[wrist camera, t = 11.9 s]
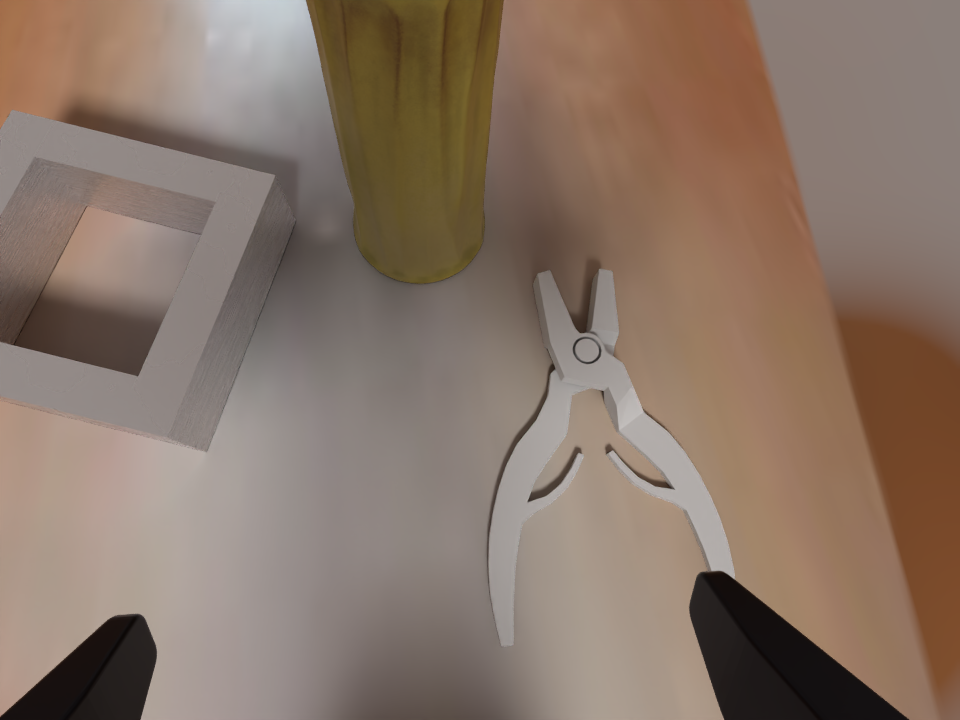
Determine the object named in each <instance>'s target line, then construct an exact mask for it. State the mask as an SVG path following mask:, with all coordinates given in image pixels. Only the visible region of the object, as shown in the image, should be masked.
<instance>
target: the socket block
mask: <svg viewBox="0 0 960 720" xmlns="http://www.w3.org/2000/svg"><path fill="white" fill-rule="evenodd" d="M86 206H89V207H93V208H97V209H101V210H105V211H109V212H113V213H117V214H121V215H125V216H129V217H133V218H137V219H141V220H145V221H149V222H153V223H157V224H161V225H165V226H169V227H173V228H177V229H181V230H186V231H190V232H194V233H198V234H201V236H200V239H199V241H198V243H197V245H196V248H195V250H194V252H193V254H192V257H191V259H190V261H189V263H188V266H187V268H186V270H185V272H184V275H183V277H182V279H181V281H180V284H179V286H178V288H177V290H176V293H175V295H174V297H173V299H172V302H171V304H170V306H169V308H168V311H167V313H166V315H165V317H164V320H163V322H162V324H161V326H160V329H159V331H158V333H157V335H156V338H155V340H154V342H153V344H152V347H151V349H150V351H149V353H148V356H147V358H146V360H145V362H144V365H143V367H142V369H141V371H140V374H139V376H135V375H131V374H127V373H123V372H119V371H115V370H111V369H107V368H103V367H99V366H95V365H91V364H86V363H82V362H78V361H74V360H70V359H66V358H62V357H58V356H54V355H50V354H46V353H42V352H38V351H34V350H30V349H26V348H22V347H18V346H14V343H15V341H16V339H17V337H18V335H19V333H20V331H21V330H22V328H23V326H24V324H25V322H26V320H27V318H28V316H29V314H30V312H31V311H32V309H33V307H34V305H35V303H36V301H37V299H38V297H39V295H40V293H41V292H42V290H43V288H44V286H45V284H46V282H47V280H48V278H49V276H50V274H51V273H52V271H53V269H54V267H55V265H56V263H57V261H58V259H59V257H60V256H61V254H62V252H63V250H64V248H65V246H66V244H67V242H68V240H69V238H70V237H71V235H72V233H73V231H74V229H75V227H76V225H77V223H78V221H79V219H80V218H81V216H82V214H83V212H84V210H85V208H86ZM295 223H296V220H295V217H294V215H293V213H292V211H291V209H290V206H289V204H288V202H287V200H286V197H285V195H284V193H283V191H282V188H281V186H280V184H279V182H278V179H277V177H276V175H273V174H269V173H265V172H261V171H257V170H253V169H249V168H245V167H241V166H237V165H233V164H229V163H225V162H221V161H217V160H213V159H208V158H204V157H200V156H196V155H192V154H188V153H184V152H180V151H176V150H172V149H168V148H164V147H160V146H156V145H152V144H148V143H144V142H140V141H136V140H132V139H128V138H124V137H120V136H116V135H112V134H108V133H104V132H100V131H96V130H92V129H87V128H83V127H79V126H75V125H71V124H67V123H63V122H59V121H55V120H51V119H47V118H43V117H39V116H35V115H31V114H27V113H23V112H19V111H15V110H12V111H11V113H10V114H9V116H8V118H7V119H6V121H5V123H4V124H3V126H2V127H1V129H0V401H4V402H8V403H12V404H16V405H20V406H24V407H28V408H32V409H36V410H40V411H44V412H48V413H52V414H56V415H60V416H64V417H68V418H72V419H76V420H80V421H84V422H88V423H92V424H96V425H100V426H104V427H108V428H112V429H116V430H120V431H124V432H128V433H132V434H136V435H140V436H144V437H148V438H152V439H156V440H160V441H164V442H168V443H172V444H176V445H180V446H184V447H188V448H192V449H196V450H200V451H205V452H207V449H208V447H209V444H210V442H211V439H212V436H213V434H214V431H215V429H216V426H217V424H218V421H219V418H220V416H221V413H222V411H223V408H224V406H225V403H226V400H227V398H228V395H229V393H230V390H231V388H232V385H233V382H234V380H235V377H236V375H237V372H238V369H239V367H240V364H241V362H242V359H243V357H244V354H245V351H246V349H247V346H248V344H249V341H250V339H251V336H252V333H253V331H254V328H255V326H256V323H257V321H258V318H259V315H260V313H261V310H262V308H263V305H264V302H265V300H266V297H267V295H268V292H269V290H270V287H271V284H272V282H273V279H274V277H275V274H276V272H277V269H278V266H279V264H280V261H281V259H282V256H283V254H284V251H285V248H286V246H287V243H288V241H289V238H290V235H291V233H292V230H293V228H294V225H295Z"/></svg>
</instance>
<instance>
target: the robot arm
mask: <svg viewBox="0 0 960 720" xmlns="http://www.w3.org/2000/svg"><path fill="white" fill-rule="evenodd" d="M689 611H690V618H691V621H692V624H693V627H694V630H695V633H696V637H697V640H698V643H699V646H700V649H701V652H702V655H703V658H704V661H705V664H706V668H707V671H708V674H709V677H710V680H711V683H712V686H713V689H714V692H715V695H716V698H717V701H718V704H719V707H720V710H721V713H722V715H723V718H724V720H909V719H908V718H907V717H905V716H904V715H903V714H902V713H900V712H899V711H898V710H897V709H895V708H894V707H893V706H892V705H890V704H889V703H888V702H887V701H885V700H884V699H883V698H882V697H880V696H879V695H878V694H877V693H875V692H874V691H873V690H872V689H870V688H869V687H868V686H867V685H865V684H864V683H863V682H862V681H860V680H859V679H858V678H857V677H855V676H854V675H853V674H852V673H850V672H849V671H848V670H847V669H846V668H844V667H843V666H842V665H841V664H839V663H838V662H837V661H836V660H834V659H833V658H832V657H831V656H829V655H828V654H827V653H826V652H824V651H823V650H822V649H821V648H819V647H818V646H817V645H816V644H814V643H813V642H812V641H811V640H809V639H808V638H807V637H806V636H804V635H803V634H802V633H801V632H799V631H798V630H797V629H796V628H794V627H793V626H792V625H791V624H789V623H788V622H787V621H786V620H784V619H783V618H782V617H781V616H780V615H778V614H777V613H776V612H775V611H773V610H772V609H771V608H770V607H768V606H767V605H766V604H765V603H763V602H762V601H761V600H760V599H758V598H757V597H756V596H755V595H753V594H752V593H751V592H750V591H748V590H747V589H746V588H745V587H743V586H742V585H741V584H740V583H738V582H737V581H736V580H735V579H733V578H732V577H731V576H730V575H728V574H727V573H725V572H723V571H706V572H700V573H699V574H698V575H697V578H696V581H695V585H694V589H693V593H692V596H691V600H690V605H689ZM156 658H157V649H156V645H155V642H154V640H153V637H152V635H151V632H150V630H149V627H148V625H147V622H146V620H145V618H144V617H143V616H142V615H141V614H127V615H117V616H114V617H112V618H110V619H108V620H107V621H106V622H105V623H104V624H103V625H101V626H100V627H99V628H98V629H97V630H96V631H95V632H94V633H93V634H92V635H90V636H89V637H88V638H87V639H86V640H85V641H84V642H83V643H82V644H80V645H79V646H78V647H77V648H76V649H75V650H74V651H73V652H72V653H70V654H69V655H68V656H67V657H66V658H65V659H64V660H63V661H62V662H60V663H59V664H58V665H57V666H56V667H55V668H54V669H53V670H52V671H50V672H49V673H48V674H47V675H46V676H45V677H44V678H43V679H42V680H41V681H39V682H38V683H37V684H36V685H35V686H34V687H33V688H32V689H31V690H29V691H28V692H27V693H26V694H25V695H24V696H23V697H22V698H21V699H19V700H18V701H17V702H16V703H15V704H14V705H13V706H12V707H11V708H9V709H8V710H7V711H6V712H5V713H4V714H3V715H2V716H1V717H0V720H140V719H141V716H142V712H143V708H144V705H145V701H146V697H147V694H148V690H149V686H150V682H151V679H152V675H153V671H154V668H155V664H156Z"/></svg>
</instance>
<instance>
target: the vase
mask: <svg viewBox="0 0 960 720" xmlns="http://www.w3.org/2000/svg"><path fill="white" fill-rule="evenodd" d="M306 2H307V6H308V10H309V14H310V18H311V22H312V26H313V30H314V34H315V38H316V43H317V47H318V52H319V57H320V61H321V67H322V72H323V77H324V82H325V86H326V90H327V95H328V99H329V104H330V109H331V113H332V118H333V123H334V128H335V132H336V136H337V141H338V145H339V150H340V155H341V159H342V163H343V168H344V172H345V175H346V179H347V183H348V186H349V189H350V192H351V195H352V198H353V202H354V215H353V227H354V235H355V239H356V242H357V246H358V248H359V250H360V252H361V253H362V255H363V256H364V257H365V259H366V260H367V261H368V262H369V263H370V264H371V265H372V266H373V267H375V268H376V269H377V270H378V271H380V272H381V273H383V274H385V275H386V276H388V277H391V278H393V279H395V280H398V281H403V282H408V283H417V284H421V283H432V282H437V281H440V280H443V279H446V278H449V277H451V276H453V275H455V274H456V273H458V272H460V271H461V270H462V269H464V268H465V267H466V266H467V265H468V264H469V263H470V262H471V261H472V260H473V258H474V257H475V255H476V254H477V252H478V251H479V249H480V247H481V245H482V242H483V237H484V228H485V217H484V210H483V203H484V191H485V174H486V161H487V153H488V144H489V131H490V120H491V108H492V95H493V84H494V75H495V68H496V61H497V55H498V47H499V38H500V28H501V19H502V10H503V2H504V0H306Z"/></svg>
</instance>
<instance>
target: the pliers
mask: <svg viewBox="0 0 960 720" xmlns="http://www.w3.org/2000/svg"><path fill="white" fill-rule="evenodd" d="M533 289H534V295H535V300H536V305H537V311H538V316H539V322H540V327H541V332H542V338H543V343H544V348H547V349H548V351H549V353H550V356H551V358H552V361H553V363H554V366H555V368H556V369H555V370H554V371H553V372H552V373H551V374H550V376H549V383H548V391H547V398H546V400H545V402H544V404H543V406H542V408H541V411H540V413H539V415H538V417H537V419H536V421H535V422H534V424H533V425H532V426H531V427H530V429H529V430H528V431H527V432H526V433H525V435H524V436H523V437H522V438H521V440H520V441H519V442H518V443H517V445H516V446H515V448H514V450H513V452H512V454H511V456H510V458H509V460H508V462H507V464H506V466H505V469H504V472H503V475H502V478H501V481H500V484H499V487H498V490H497V494H496V499H495V503H494V508H493V512H492V518H491V525H490V533H489V542H488V577H489V593H490V598H491V604H492V610H493V615H494V620H495V624H496V629H497V633H498V637H499V641H500V645H501V647H504V646H513V645H514V588H515V568H516V561H517V553H518V546H519V540H520V534H521V529H522V524H523V523H524V522H525V521H526V520H527V519H528V518H529V517H530V516H531V515H533V514H534V513H536V512H538V511H539V510H541V509H543V508H545V507H546V506H548V505H550V504H551V503H553V502H554V501H555V500H556V499H557V498H558V497H559V496H560V495H561V494H562V493H563V492H564V491H565V490H566V489H567V488H568V486H569V484H570V483H571V481H572V479H573V478H574V476H575V474H576V473H577V471H578V468H579V466H580V464H581V462H582V459H583V457H584V455H582V454H580V453H578V454H576V457H575V459H574V461H573V463H572V465H571V467H570V469H569V471H568V472H567V474H566V475H565V477H564V479H563V480H562V482H561V483H560V484H559V485H558V486H557V487H556V488H555V489H554V490H552V491H551V492H550V493H549V494H548V495H546V496H545V497H542V498H539V499H536V500H533V501H530V502H528V499H529V496H530V494H531V491H532V488H533V485H534V483H535V481H536V479H537V477H538V476H539V474H540V473H541V471H542V470H543V468H544V466H545V465H546V463H547V462H548V460H549V459H550V458H551V456H552V455H553V453H554V452H555V451H556V449H557V448H558V446H559V445H560V444H561V442H562V441H563V439H564V438H565V437H566V435H567V430H568V423H569V415H570V407H571V400H572V395H574V394H576V393H579V392H581V391H584V390H587V389H589V388H593V389H597V390H602V391H604V402H605V406H606V409H607V411H608V413H609V415H610V418H611V420H612V422H613V425H614V427H615V429H616V432H617V433H618V434H619V435H621V436H622V437H623V438H624V439H625V440H626V441H627V442H628V443H629V444H631V445H632V446H633V447H634V448H635V449H636V450H637V451H638V452H640V453H641V454H642V455H643V456H644V457H645V458H646V459H647V460H648V461H649V462H650V463H651V464H652V465H653V466H654V467H655V468H656V469H657V470H658V471H659V472H660V473H661V475H662V476H663V478H664V479H665V480H666V482H667V483H668V485H669V486H670V488H671V489H668V488H661V487H655V486H653V485H652V484H650V483H648V482H646V481H644V480H642V479H641V478H639V477H637V476H636V475H635V474H634V473H633V472H632V471H631V470H630V469H629V468H628V467H627V466H626V465H625V464H624V463H623V462H622V460H621V459H620V458H619V457H618V456H617V454H616V453H615V452H614V451H610V452H609V453H608V454H606V455H607V457H608V458H609V459H610V460H611V462H612V463H613V464H614V465H615V467H616V468H617V469H618V470H619V471H620V472H621V473H622V474H623V475H624V476H625V477H626V478H627V479H628V480H629V481H630V482H631V483H632V484H633V485H635V486H636V487H638V488H639V489H641V490H643V491H644V492H646V493H647V494H649V495H651V496H654V497H657V498H660V499H662V500H665V501H668V502H671V503H672V504H674V505H676V506H677V507H679V508H680V509H682V510H683V511H684V513H685V516H686V518H687V520H688V522H689V524H690V526H691V528H692V531H693V533H694V535H695V537H696V540H697V542H698V544H699V547H700V549H701V552H702V555H703V558H704V561H705V564H706V567H707V569H708V571H723V572H725V573H727V574H728V575H730V576H731V577H732V578H733V579H735V574H734V567H733V563H732V558H731V554H730V550H729V545H728V541H727V538H726V535H725V532H724V529H723V526H722V522H721V519H720V517H719V514H718V512H717V510H716V507H715V505H714V503H713V501H712V498H711V496H710V494H709V492H708V490H707V488H706V486H705V484H704V482H703V480H702V479H701V477H700V475H699V473H698V471H697V470H696V468H695V467H694V465H693V464H692V462H691V460H690V459H689V457H688V456H687V454H686V453H685V451H684V450H683V449H682V448H681V447H680V445H679V444H678V443H677V442H676V440H675V439H674V438H673V437H672V436H671V434H670V433H669V432H668V431H666V430H665V429H664V428H663V427H661V426H660V425H659V424H658V423H657V422H655V421H654V420H653V419H652V418H650V417H649V416H648V415H647V414H646V413H644V411H643V409H642V407H641V404H640V402H639V399H638V397H637V395H636V392H635V390H634V387H633V385H632V383H631V380H630V378H629V376H628V373H627V371H626V368H625V366H624V364H623V363H622V362H621V361H619V360H618V359H616V358H615V357H613V355H614V346H615V343H616V340H617V337H618V335H619V326H618V317H617V308H616V299H615V289H614V280H613V271H610V270H605V269H600V268H599V270H598V272H597V273H596V275H595V276H594V278H593V281H592V288H591V296H590V304H589V312H588V320H587V328H586V333H581V334H580V333H579V332H578V331H577V330H576V328H575V327H574V325H573V322H572V320H571V318H570V315H569V313H568V311H567V308H566V306H565V304H564V301H563V299H562V297H561V294H560V292H559V290H558V287H557V285H556V283H555V280H554V278H553V276H552V274H551V271H550V270H548V271H544V272H541V273H538V274H537V276H536V279H535V281H534V284H533Z"/></svg>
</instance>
